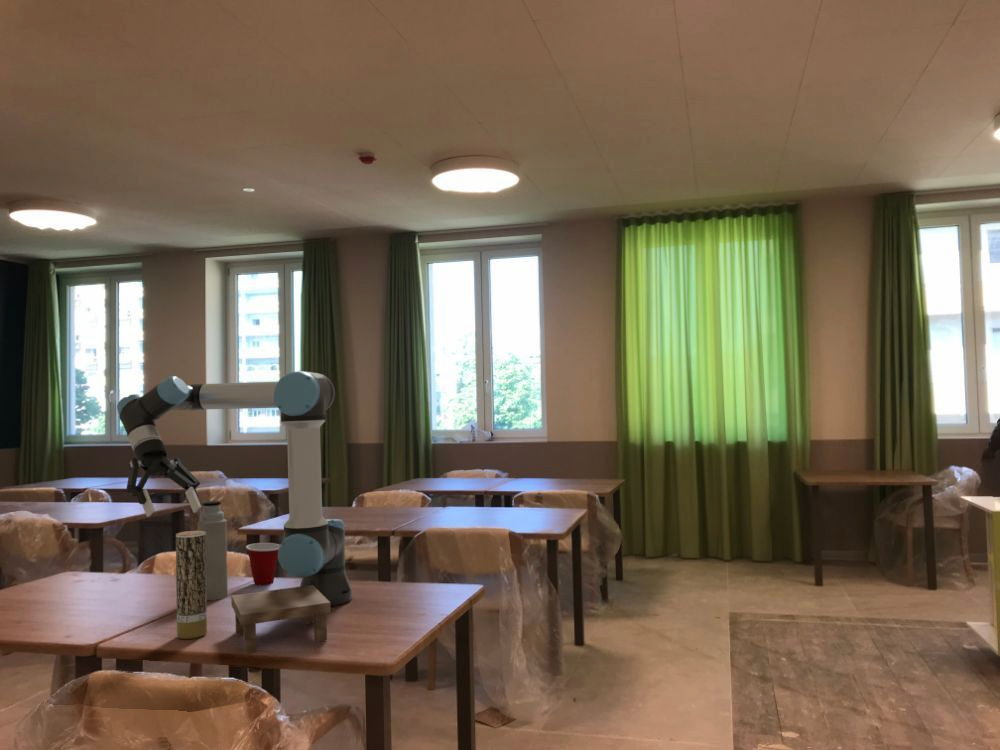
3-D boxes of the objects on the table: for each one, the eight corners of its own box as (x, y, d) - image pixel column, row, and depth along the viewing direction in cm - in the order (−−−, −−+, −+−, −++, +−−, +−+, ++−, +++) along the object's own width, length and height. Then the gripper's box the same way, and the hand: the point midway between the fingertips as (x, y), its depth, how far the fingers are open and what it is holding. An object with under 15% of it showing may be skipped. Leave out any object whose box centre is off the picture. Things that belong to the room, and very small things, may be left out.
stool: (313, 620, 195) (312, 584, 196) (331, 641, 177) (330, 602, 178) (231, 632, 187) (231, 595, 187) (241, 655, 169) (241, 614, 169)
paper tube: (200, 629, 189) (198, 529, 190) (211, 635, 184) (210, 532, 185) (172, 636, 184) (171, 533, 185) (183, 642, 180) (182, 536, 181)
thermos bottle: (216, 592, 228) (214, 499, 229) (233, 595, 223) (231, 500, 224) (192, 598, 221) (191, 502, 222) (210, 602, 217) (208, 504, 218)
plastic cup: (271, 587, 232) (271, 548, 232) (239, 587, 234) (239, 548, 234) (288, 579, 242) (287, 542, 243) (257, 579, 244) (257, 541, 245)
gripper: (181, 453, 216) (207, 516, 208) (96, 454, 195) (122, 524, 187) (195, 437, 213) (222, 500, 205) (110, 437, 192) (137, 506, 184)
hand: (174, 511), depth 196 cm, fingers open, 13 cm apart
